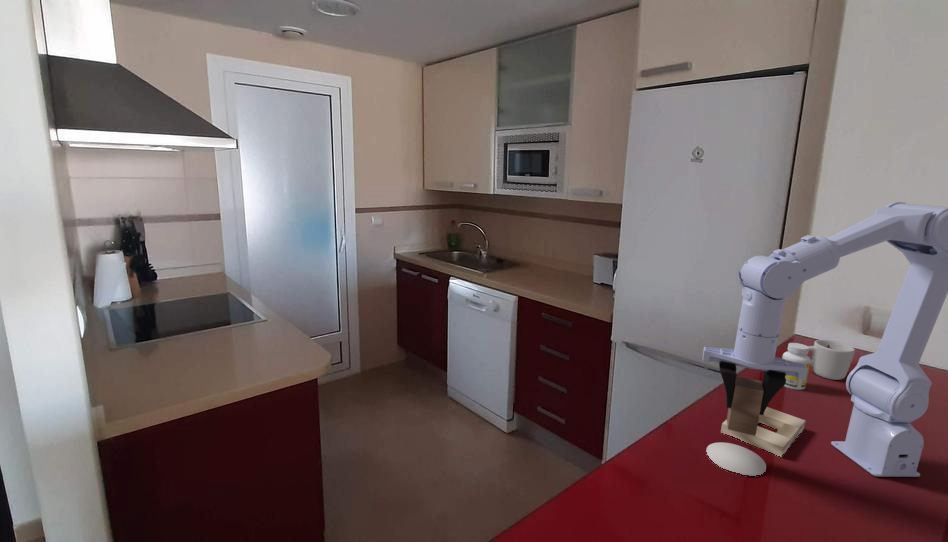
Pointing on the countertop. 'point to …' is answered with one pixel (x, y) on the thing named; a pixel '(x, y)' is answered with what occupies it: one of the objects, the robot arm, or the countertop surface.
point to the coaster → (736, 459)
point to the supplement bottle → (799, 356)
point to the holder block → (767, 439)
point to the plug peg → (745, 406)
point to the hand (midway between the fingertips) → (744, 408)
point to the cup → (831, 358)
